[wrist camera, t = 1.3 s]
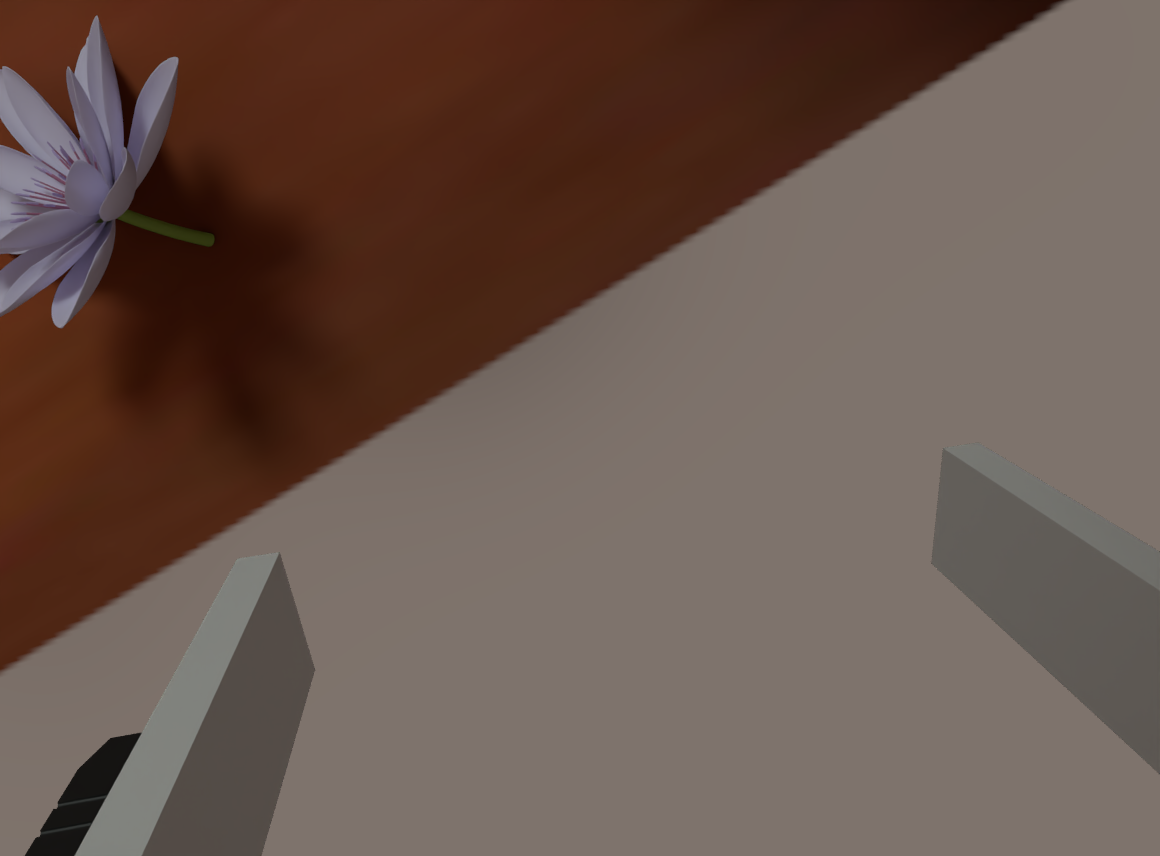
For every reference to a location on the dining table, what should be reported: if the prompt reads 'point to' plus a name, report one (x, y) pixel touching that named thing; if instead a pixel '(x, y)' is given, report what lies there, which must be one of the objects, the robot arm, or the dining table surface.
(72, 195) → the water lily
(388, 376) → the dining table surface
